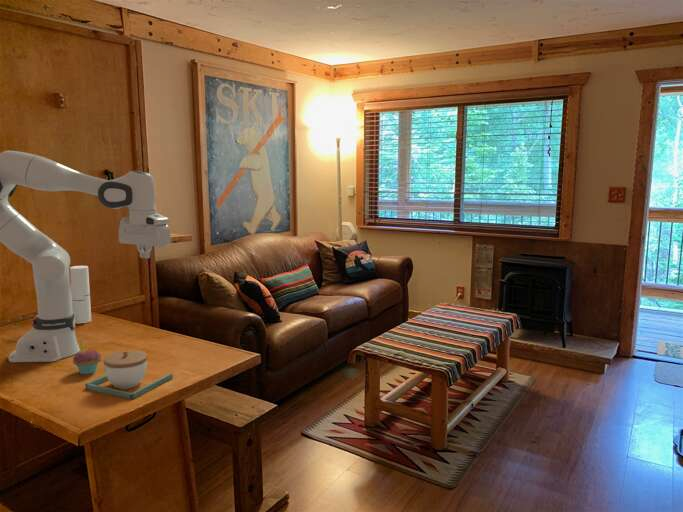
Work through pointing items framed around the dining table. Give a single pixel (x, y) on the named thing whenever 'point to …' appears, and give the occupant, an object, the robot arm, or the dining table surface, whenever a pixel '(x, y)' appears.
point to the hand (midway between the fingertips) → (144, 257)
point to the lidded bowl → (125, 368)
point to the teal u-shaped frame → (94, 386)
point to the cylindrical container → (80, 294)
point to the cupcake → (86, 360)
